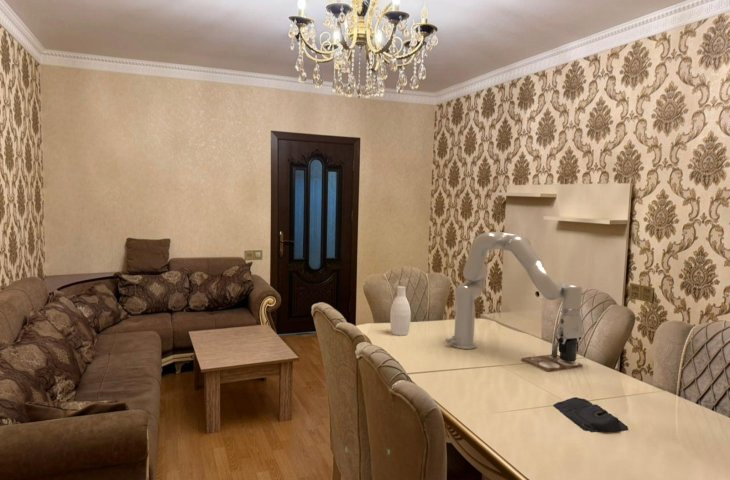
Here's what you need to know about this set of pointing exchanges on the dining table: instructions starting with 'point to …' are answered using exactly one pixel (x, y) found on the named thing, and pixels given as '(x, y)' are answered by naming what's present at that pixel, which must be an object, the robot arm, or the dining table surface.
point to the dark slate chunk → (589, 416)
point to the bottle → (400, 313)
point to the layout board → (551, 361)
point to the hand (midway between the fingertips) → (568, 351)
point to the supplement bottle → (569, 350)
